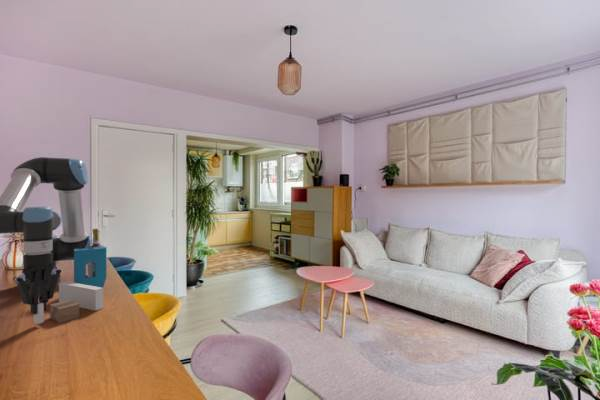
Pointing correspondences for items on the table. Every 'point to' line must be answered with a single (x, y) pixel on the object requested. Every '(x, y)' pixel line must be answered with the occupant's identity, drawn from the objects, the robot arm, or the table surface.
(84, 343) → the table surface
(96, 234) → the liquor
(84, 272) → the block
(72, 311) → the walnut block
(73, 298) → the grey board
